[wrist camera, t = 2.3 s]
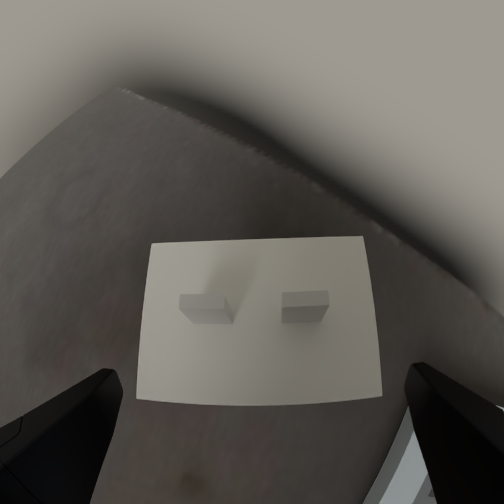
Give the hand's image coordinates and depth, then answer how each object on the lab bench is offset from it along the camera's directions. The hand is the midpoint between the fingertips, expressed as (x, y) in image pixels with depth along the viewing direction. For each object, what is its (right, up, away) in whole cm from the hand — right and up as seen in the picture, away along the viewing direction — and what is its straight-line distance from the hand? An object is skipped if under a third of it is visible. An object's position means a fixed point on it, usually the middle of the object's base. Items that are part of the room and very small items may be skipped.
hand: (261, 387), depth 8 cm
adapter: (+1, -3, +9) cm, 9 cm away
